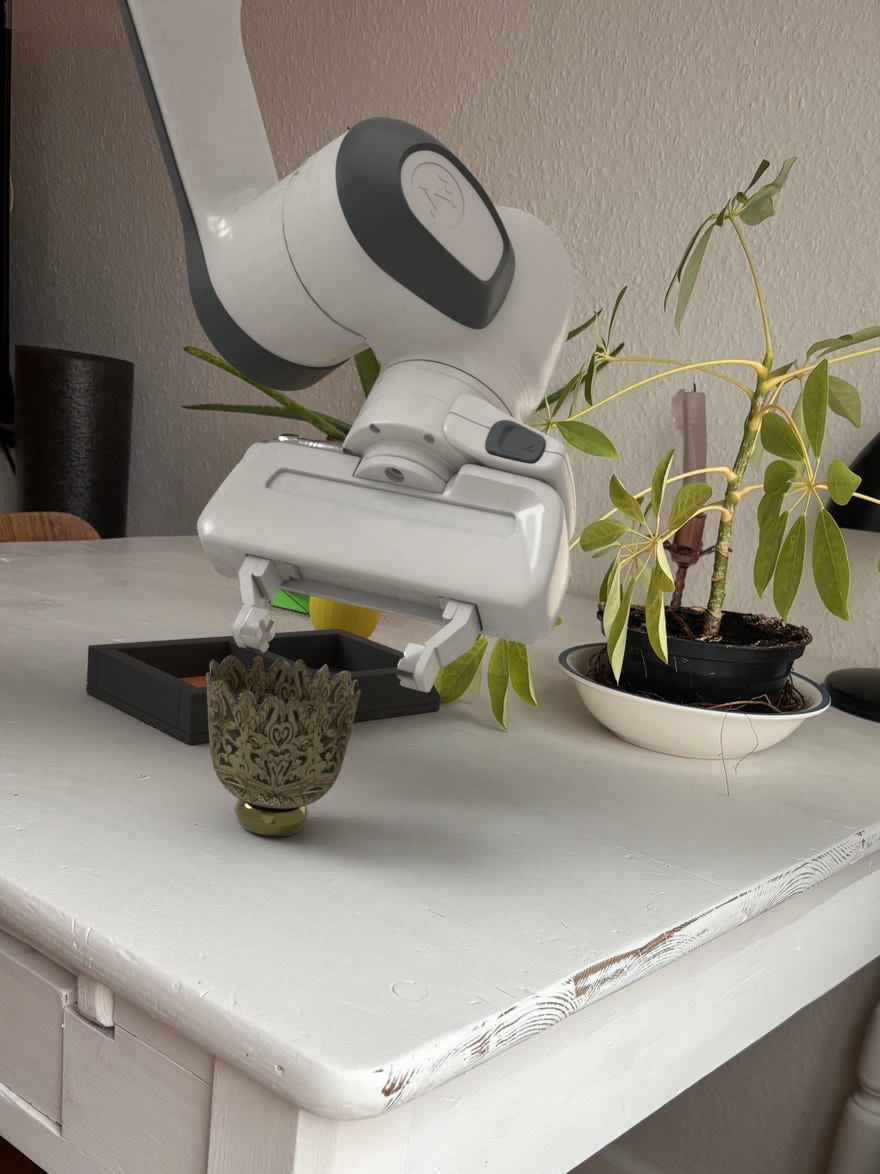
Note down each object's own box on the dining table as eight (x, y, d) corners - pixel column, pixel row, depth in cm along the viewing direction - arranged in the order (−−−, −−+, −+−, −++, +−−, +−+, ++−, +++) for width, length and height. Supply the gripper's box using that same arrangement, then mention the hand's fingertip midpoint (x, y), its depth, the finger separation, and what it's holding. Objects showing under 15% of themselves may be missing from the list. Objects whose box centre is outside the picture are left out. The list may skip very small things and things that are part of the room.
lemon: (317, 661, 98) (328, 556, 95) (296, 643, 102) (306, 542, 99) (384, 664, 100) (397, 561, 97) (361, 646, 105) (373, 547, 102)
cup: (341, 863, 62) (360, 703, 59) (186, 846, 61) (198, 683, 58) (344, 810, 69) (361, 664, 66) (205, 794, 68) (216, 646, 65)
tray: (85, 692, 82) (87, 644, 81) (335, 668, 97) (339, 628, 96) (188, 745, 75) (192, 693, 74) (439, 710, 90) (445, 667, 89)
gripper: (244, 388, 71) (131, 584, 66) (596, 451, 65) (502, 670, 60) (276, 469, 77) (174, 655, 71) (603, 533, 71) (518, 740, 66)
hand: (327, 663), depth 66 cm, fingers open, 8 cm apart
